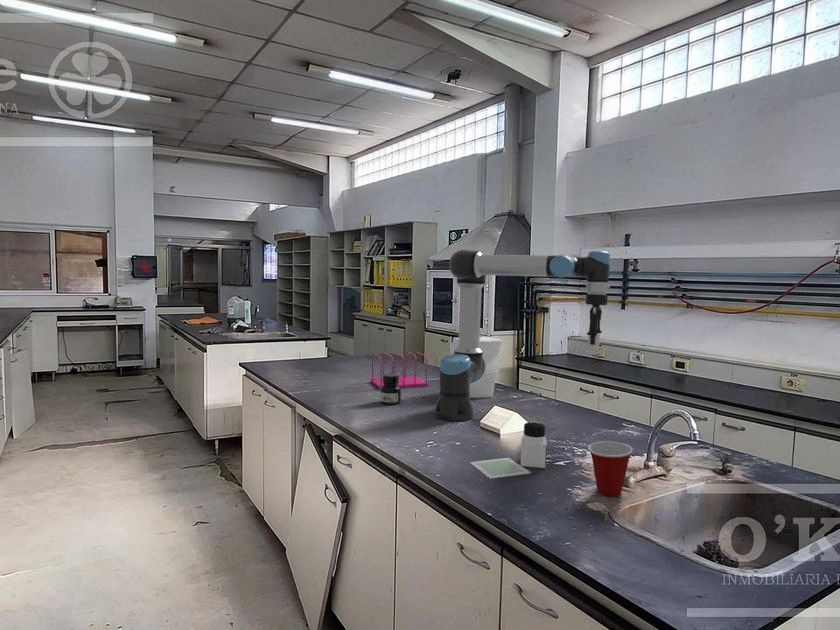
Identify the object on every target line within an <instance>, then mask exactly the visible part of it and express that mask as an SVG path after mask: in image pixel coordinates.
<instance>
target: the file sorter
mask: <svg viewBox="0 0 840 630" xmlns="http://www.w3.org/2000/svg"><path fill="white" fill-rule="evenodd" d="M408 354H409V355H411V356H414V363H415V364H414V376H407V372H406V371H407V355H408ZM385 355H386V356H388V357H390V358H391V374H396V355H398V356H401V357H402V369H403V370H402V374H403V375H402V377H400V376H399V383H398V385H399V386H400V387H401V389H407V388H406V387H411V388H422V387H421V386H426V387H430V386H429V385H430V384H429V382H428V357H427V356H426V354H423V353H421V352H419V351H416V353H415V354H414V353H412V352H410V351H406V352H405V354H404V355H405V356H404V355H403V354H401V353H398V352H395V353H394V354H393V356H392V355H391V354H388V353H386V352H384V353H383V357H381V356H380V355H378V354H376V353H372V355H371V378H370V381H371V382H372V383H373V384H372V383H371V382H370V383H371V384H372V385H374V384H375V385H376V386H377V387H378V388H381V386H383V385H384V384H383V375H384V374H385ZM417 355H421V356H423V357H425V380H424V379H422V378H420V377H418V376H417V364H418V363H417V361H418V360H417ZM375 356H376V357H378V358H379V359H380V360H379V361H380V362H379V363H380V378H374V357H375ZM382 358H383V359H382ZM382 360H383V361H382ZM375 385H374V386H375ZM376 386H375V387H376ZM377 387H376V388H377ZM378 388H377V389H378Z"/></svg>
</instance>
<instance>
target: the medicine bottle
mask: <svg viewBox="0 0 840 630" xmlns="http://www.w3.org/2000/svg"><path fill="white" fill-rule="evenodd" d="M545 434H546V426H545V424H543V423H542V422H539V421H527V422H526V423H524V425H523V435H521V442H520V443H521V447H520V466H522V467H524V468H525V467H526V468H527V467H528V468H537V469H546V467H547V452H548V449H547V448H548V444H547V437H546V436H545Z"/></svg>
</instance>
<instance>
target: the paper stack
mask: <svg viewBox="0 0 840 630" xmlns="http://www.w3.org/2000/svg"><path fill="white" fill-rule="evenodd" d="M502 342H503V340H502V339H500V338H499V339H498V338H495V337H494V338H493V337H488V336H480V341H479V347H480V348H481V349H482V351H483V359H484V361H485V364H486V369H485V372H484V374H483V376H482V377H481V378H480V379H479V380H477V381H476V382H473V383H471V384H470V399H471V398H472V399H473V398H475V399H478V398H479V399H483V398H484V399H488V398H489V397H490V398H492V397H493V396H494V389H495V386H496V381H497V377H498V373H499V370H500V369H501V367H502V365H501V362H500V357H499V353H500V347H501V344H502ZM458 343H459V337H454V338H453V340H452V343H450V351H449V354H448V355H452V354H454V350H455V349H456V348H457V347H458Z"/></svg>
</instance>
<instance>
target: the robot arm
mask: <svg viewBox="0 0 840 630" xmlns="http://www.w3.org/2000/svg"><path fill="white" fill-rule="evenodd" d="M610 256H611V255H610V253H609V252H608V251H603V250H602V251H601V250H600V251H599V250H595V251H594V250H593V251H589V252H588V255H587V256H569V255H566V254H558V255H554V254H553V255H547V254H546V255H543V254H542V255H539V254H538V255H537V254H536V255H535V254H533V255H531V254H530V255H529V254H484V253H482V252H481V251H479V250H471V249H470V250H468V249H460V250H458V251H455V252H454V253H453V254H452V255H451V256H450V258H449V262H448V266H449V271H450V273H451V274H452V275H453V277H455V278H456V285H457V286H458V287H459V288H460V293H459V315H458V316H459V319H458V338H459V343H458V347H457V348H456V349H455V350H454V354H452V355H449V354H447V355H445V356H443V357H442V358H441V359H440V365H439V398H438V399H437V403H436V406H435V408H434V416H435V417H436V418H437V419H439V420H443V421H444V420H445V421H452V422H453V421H454V422H455V421H456V422H457V421H468V420H471V419H473V418H474V417H475V409H474V406H473V403H472V400H471V398H470V384H471V383H473V382H476V381H477V380H479V379H480V378H481V377H482V376H483V374H484V372H485V369H486V364H485V361H484V359H483V351H482V349H481V348H480V347H479V341H480V337H481V334H480V333H481V309H482V306H481V305H482V289H483V287H485V286H486V283H487V282H486V280H487V276H505V277H506V276H509V277H511V276H512V277H513V276H515V277H517V276H518V277H548V278H549V277H551V278H586V287H585V290H586V291H585V292H586V293H587V294H585V304H586V305H588V306H589V305H591V308H590V310H589V328H588V331H587V332H586V335H587V336H588V343H587V344H588V348H587V354H589V355H597V351H598V352H599V349H600V335H601V334H602V332H603V331H602V330H601V321H602V315H603V314H602V313H603V312H602V311H603V310H602V307H601V306H607V305H608V300H609V296H608V293H609V288H611V286H610V285H609V280H610V279H609V277H610V267H611V266H610V265H611V264H610V263H611V262H610V260H611V257H610Z"/></svg>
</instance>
